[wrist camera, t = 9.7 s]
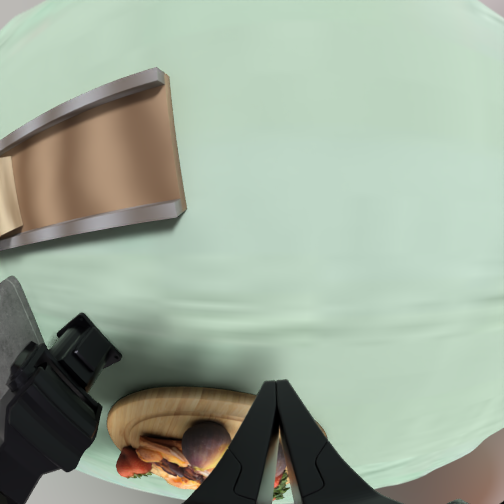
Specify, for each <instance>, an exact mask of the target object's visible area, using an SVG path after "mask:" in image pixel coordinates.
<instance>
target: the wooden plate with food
mask: <svg viewBox="0 0 504 504" xmlns="http://www.w3.org/2000/svg"><path fill="white" fill-rule="evenodd" d="M256 396H257V395H253V394H248V393H243V392H236V391H230V390H224V389H215V388H205V387H182V386H179V387H157V388H151V389H146V390H142V391H138V392H135V393H132V394H130V395H128V396H125V397H124V398H122V399H120V400H119V401H117V402H116V403H115V404H114V405H113V406H112V408H111V409H110V411H109V413H108V417H107V428H108V432H109V435H110V437H111V439H112V440H113V442H114V443H115V445H116V446H117V447H118V448H119V449H120V451H121V454H120V456H119V458H118V460H117V464H116V468H117V472H118V473H119V474H120V475H121V476H123V477H126V478H127V479H128V478H130V477H132V478H137V477H139V478H140V477H141V476H142V475H144V476H147V475H152V474H151V473H153V474H155V475H158V476H160V477H162V478H164V479H165V480H166V481H167V482H168V483H169V484H171V485H173V486H176V487H178V488H182V489H194V490H196V489H197V488H198V487H199V486H200V485H201V483H202V482H203V481H204V480H205V479H206V478H207V477H208V475H209V474H210V473H211V472H212V470H213V469H214V468H215V466H216V465H217V464H218V462H219V461H220V459H221V458H222V456H223V454H224V453H225V451H226V449H228V446H229V444H230V443H231V441H232V439H233V438H234V436H235V434H236V432H237V431H238V429H239V427H240V425H241V424H242V422H243V420H244V418H245V416H246V415H247V413H248V411H249V409H250V407H251V405H252V404H253V402H254V400H255V398H256ZM316 423H317V424H318V426H319V427H320V429H321V430H322V432H323V433H324V434H325V436H326V437H327V435H326V433H325V431H324V429H323V428H322V427H321V426H320V425H319V423H318V422H316ZM136 476H137V477H136ZM147 477H148V476H147ZM140 479H141V478H140ZM288 483H290V480H289V476H288V471H287V466H286V461H285V456H284V452H283V447H282V442H281V437H280V429H279V444H278V455H277V464H276V473H275V482H274V491H273V499H272V501H273V500H275V499H276V500H278V499H283V498H284V497H283V495H282V494H283V493H285V492H286V491H287V490H288V489H289V488H290V487H289V488H288V487H287V488H285V486H286V484H288Z"/></svg>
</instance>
